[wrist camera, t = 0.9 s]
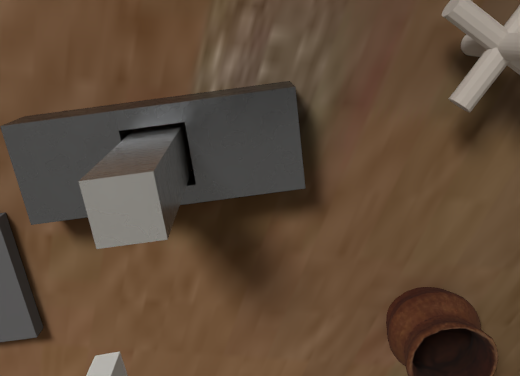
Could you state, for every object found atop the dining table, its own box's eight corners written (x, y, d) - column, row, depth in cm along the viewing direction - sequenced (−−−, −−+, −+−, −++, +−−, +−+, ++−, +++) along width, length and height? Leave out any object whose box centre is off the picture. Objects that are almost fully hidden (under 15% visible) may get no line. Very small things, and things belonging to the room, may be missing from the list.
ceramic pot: (431, 417, 50) (460, 475, 44) (300, 340, 47) (310, 390, 40) (549, 295, 46) (602, 337, 40) (416, 200, 43) (449, 229, 36)
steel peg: (137, 125, 39) (78, 181, 25) (185, 119, 39) (153, 171, 25) (147, 171, 40) (96, 248, 26) (193, 165, 40) (167, 239, 26)
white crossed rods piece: (386, 62, 38) (434, 73, 28) (466, -51, 35) (548, -81, 26) (476, 128, 40) (550, 158, 31) (558, 24, 37) (666, 23, 28)
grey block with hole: (24, 116, 38) (0, 126, 34) (289, 81, 38) (295, 86, 34) (50, 206, 41) (31, 224, 37) (299, 173, 41) (305, 188, 37)
